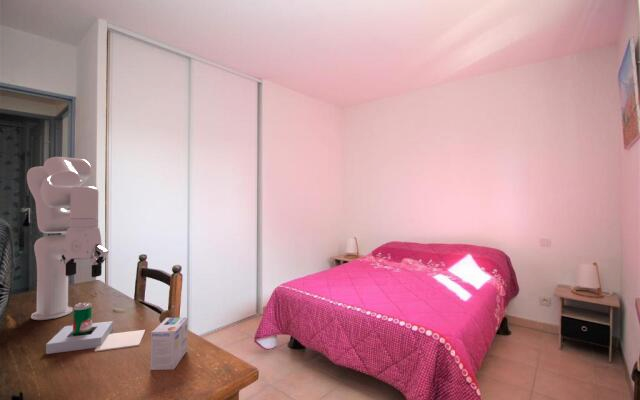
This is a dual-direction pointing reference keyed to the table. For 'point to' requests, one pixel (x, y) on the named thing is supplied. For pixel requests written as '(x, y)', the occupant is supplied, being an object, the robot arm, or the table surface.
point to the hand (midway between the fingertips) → (83, 275)
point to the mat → (121, 340)
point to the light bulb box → (168, 343)
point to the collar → (79, 338)
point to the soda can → (82, 319)
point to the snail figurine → (167, 314)
